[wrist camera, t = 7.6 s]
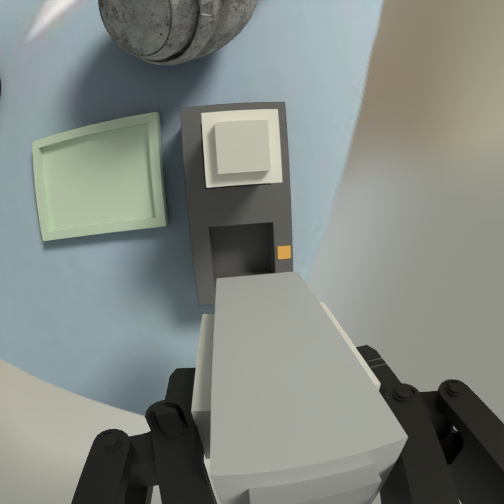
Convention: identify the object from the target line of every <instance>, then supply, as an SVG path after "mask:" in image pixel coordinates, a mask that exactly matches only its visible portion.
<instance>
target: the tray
mask: <svg viewBox="0 0 504 504" xmlns="http://www.w3.org/2000/svg"><path fill="white" fill-rule="evenodd" d="M32 153H33V170H34V182H35V192H36V200H37V208H38V215H39V222H40V228H41V233H42V239H43V241H49V240H56V239H64V238H71V237H79V236H86V235H94V234H102V233H111V232H119V231H128V230H137V229H146V228H155V227H165V226H167V225H168V224H169V221H168V213H167V203H166V193H165V183H164V171H163V158H162V143H161V125H160V114H159V113H158V112H152V113H145V114H140V115H134V116H129V117H124V118H119V119H114V120H109V121H105V122H100V123H96V124H92V125H88V126H84V127H80V128H76V129H73V130H69V131H65V132H62V133H58V134H55V135H52V136H49V137H45V138H42V139H39V140H36V141H33V142H32Z"/></svg>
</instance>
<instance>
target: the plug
mask: <svg viewBox="0 0 504 504" xmlns="http://www.w3.org/2000/svg"><path fill="white" fill-rule="evenodd" d="M407 438H408V436H407V434H406V433H405V431H404V430H403V428H402V426H401V425H400V423H399V422H398V420H397V419H396V417H395V415H394V414H393V412H392V411H391V409H390V408H389V406H388V405H387V403H386V401H385V400H384V398H383V397H382V395H381V394H380V392H379V391H378V389H377V388H376V386H375V385H374V383H373V382H372V380H371V378H370V377H369V375H368V374H367V372H366V371H365V369H364V368H363V366H362V365H361V363H360V362H359V360H358V359H357V357H356V356H355V354H354V353H353V351H352V350H351V348H350V347H349V345H348V344H347V342H346V341H345V340H344V338H343V337H342V335H341V334H340V332H339V331H338V329H337V328H336V326H335V325H334V323H333V322H332V320H331V319H330V317H329V316H328V315H327V313H326V312H325V310H324V309H323V307H322V306H321V304H320V303H319V302H318V300H317V299H316V297H315V296H314V294H313V293H312V291H311V290H310V289H309V287H308V286H307V284H306V283H305V281H304V280H303V278H302V277H301V276H300V274H299V273H298V271H293V272H283V273H272V274H261V275H250V276H239V277H227V278H217V282H216V299H215V318H214V338H213V362H212V391H211V436H210V477H211V479H212V482H213V485H214V487H215V490H216V493H217V495H218V498H219V500H220V503H221V504H372V502H373V500H374V499H375V498H376V496H377V494H378V493H379V491H380V489H381V488H382V486H383V484H384V483H385V481H386V479H387V477H388V476H389V474H390V472H391V470H392V468H393V466H394V465H395V463H396V461H397V459H398V457H399V455H400V453H401V451H402V449H403V447H404V445H405V443H406V441H407Z"/></svg>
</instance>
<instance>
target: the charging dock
mask: <svg viewBox="0 0 504 504" xmlns="http://www.w3.org/2000/svg"><path fill="white" fill-rule="evenodd" d="M180 112H181V131H182V147H183V162H184V175H185V187H186V198H187V208H188V218H189V228H190V237H191V245H192V254H193V262H194V270H195V277H196V285H197V292H198V299H199V305H210V304H215V299H216V282H217V278H227V277H239V276H250V275H261V274H272V273H283V272H293V249H292V217H291V192H290V171H289V153H288V137H287V122H286V108H285V102H253V103H232V104H218V105H206V106H196V107H187V108H180Z"/></svg>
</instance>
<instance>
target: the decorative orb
mask: <svg viewBox="0 0 504 504" xmlns="http://www.w3.org/2000/svg"><path fill="white" fill-rule="evenodd" d="M256 3H257V0H98V4H99V11H100V15H101V19H102V21H103V24H104V26H105V28H106V30H107V32H108V33H109V35H110V36H111V38H112V39H113V40H114V41H115V42H116V44H117V45H119V46H120V47H121V48H122V49H123V50H125V51H126V52H128V53H130V54H132V55H134V56H136V57H137V58H139V59H141V60H143V61H145V62H147V63H150V64H155V65H177V64H182V63H184V62H187V61H190V60H195V59H198V58H201V57H204V56H206V55H209V54H211V53H213V52H215V51H217V50H218V49H220V48H222V47H223V46H225V45H226V44H228V43H229V42H230V41H231V40H232V39H234V38H235V37H236V36H237V35H238V34H239V33H240V32H241V30H242V29H243V28H244V27H245V26H246V24H247V23H248V21H249V20H250V18H251V16H252V14H253V12H254V10H255V7H256Z"/></svg>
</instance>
